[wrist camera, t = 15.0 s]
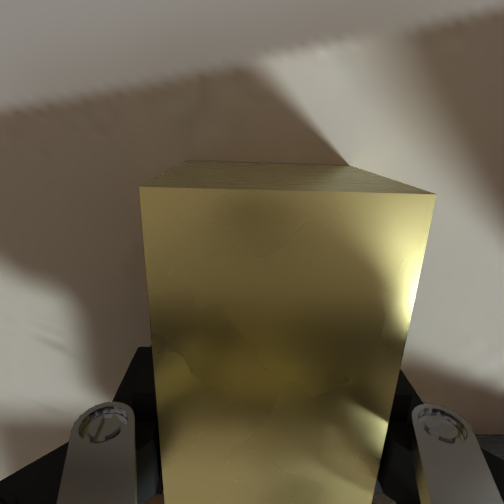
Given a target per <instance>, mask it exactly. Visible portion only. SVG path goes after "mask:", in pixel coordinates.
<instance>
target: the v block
mask: <svg viewBox="0 0 504 504" xmlns="http://www.w3.org/2000/svg"><path fill="white" fill-rule="evenodd" d="M475 436H476V439H477V441H478V443H479V446H480V447H481V448H482V449H484V450H486V451H488V452H490V453H492V454H493V455H495V456H497V457H499V458H501V459H503V460H504V435H475Z"/></svg>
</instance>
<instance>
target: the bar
mask: <svg viewBox="0 0 504 504" xmlns="http://www.w3.org/2000/svg"><path fill="white" fill-rule="evenodd" d="M139 193H140V206H141V218H142V230H143V243H144V255H145V267H146V280H147V292H148V304H149V317H150V329H151V341H152V354H153V366H154V378H155V391H156V403H157V415H158V428H159V440H160V452H161V465H162V477H163V489H164V502H165V504H371V503H372V498H373V493H374V489H375V484H376V479H377V475H378V470H379V465H380V460H381V456H382V451H383V446H384V442H385V437H386V432H387V427H388V423H389V418H390V413H391V409H392V404H393V399H394V394H395V390H396V385H397V380H398V375H399V371H400V366H401V361H402V357H403V352H404V347H405V342H406V338H407V333H408V328H409V324H410V319H411V314H412V309H413V305H414V300H415V295H416V291H417V286H418V281H419V276H420V272H421V267H422V262H423V258H424V253H425V248H426V243H427V239H428V234H429V229H430V224H431V220H432V215H433V210H434V206H435V201H436V196H437V194H434V193H431V192H428V191H425V190H422V189H419V188H416V187H413V186H410V185H407V184H404V183H401V182H398V181H395V180H392V179H389V178H386V177H383V176H380V175H377V174H374V173H371V172H368V171H365V170H362V169H359V168H356V167H353V166H350V165H315V164H279V163H243V162H208V161H185V162H183V163H181V164H180V165H178V166H176V167H174V168H172V169H170V170H169V171H167V172H165V173H163V174H161V175H160V176H158V177H156V178H154V179H152V180H150V181H149V182H147V183H145V184H143V185H141V186H140V187H139Z"/></svg>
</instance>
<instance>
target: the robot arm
mask: <svg viewBox="0 0 504 504" xmlns="http://www.w3.org/2000/svg"><path fill="white" fill-rule="evenodd" d="M162 493H163V477H162V465H161V452H160V440H159V428H158V415H157V403H156V391H155V378H154V366H153V354H152V345H151V347H139V348H138V349H137V351H136V353H135V355H134V357H133V359H132V361H131V363H130V366H129V368H128V370H127V372H126V374H125V376H124V378H123V380H122V382H121V384H120V387H119V389H118V391H117V393H116V395H115V397H114V399H113V401H112V402H105V403H102V404H99V405H96V406H94V407H92V408H90V409H88V410H87V411H85V412H84V413H83V414H82V415H80V417H79V418H78V419H77V420H76V421H75V423H74V425H73V428H72V430H71V435H70V440H69V442H67V443H66V444H64V445H62V446H60V447H59V448H57V449H55V450H54V451H52V452H50V453H48V454H47V455H45V456H43V457H41V458H40V459H38V460H36V461H34V462H33V463H31V464H29V465H27V466H26V467H24V468H22V469H20V470H19V471H17V472H15V473H13V474H12V475H10V476H8V477H6V478H5V479H3V480H1V481H0V504H144V503H145V502H146V501H147V500H148V499H150V498H151V497H152V496H153V495H155V494H162ZM373 494H385V495H386V496H388V497H389V498H390V499H391V504H504V460H503V459H501V458H499V457H497V456H495V455H493V454H492V453H490V452H488V451H486V450H484V449H482V448H481V447H480V446H479V443H478V441H477V439H476V436H475V434H474V432H473V430H472V428H471V427H470V425H469V424H468V423H467V422H466V421H465V420H464V419H463V418H462V417H461V416H459V415H458V414H457V413H455V412H454V411H452V410H450V409H447V408H445V407H442V406H439V405H436V404H423V402H422V401H421V399H420V398H419V396H418V395H417V393H416V392H415V390H414V389H413V387H412V386H411V384H410V383H409V381H408V380H407V378H406V377H405V375H404V374H403V372H402V370H401V369H400V371H399V375H398V380H397V385H396V390H395V394H394V399H393V404H392V409H391V413H390V418H389V423H388V427H387V432H386V437H385V442H384V446H383V451H382V456H381V460H380V465H379V470H378V475H377V479H376V484H375V489H374V493H373Z"/></svg>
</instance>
